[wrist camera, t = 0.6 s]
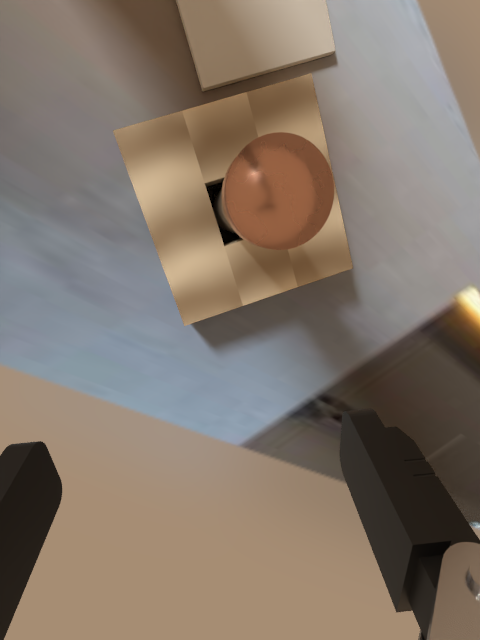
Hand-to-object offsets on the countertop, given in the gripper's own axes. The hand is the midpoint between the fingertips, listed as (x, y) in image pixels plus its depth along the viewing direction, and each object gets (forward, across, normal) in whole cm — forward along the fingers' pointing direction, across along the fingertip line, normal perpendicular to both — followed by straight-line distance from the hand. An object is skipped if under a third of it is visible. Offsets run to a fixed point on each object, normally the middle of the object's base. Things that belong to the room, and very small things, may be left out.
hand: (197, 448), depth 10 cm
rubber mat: (+31, -5, -18) cm, 37 cm away
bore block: (+28, -3, -1) cm, 28 cm away
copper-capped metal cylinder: (+28, -3, -1) cm, 28 cm away
